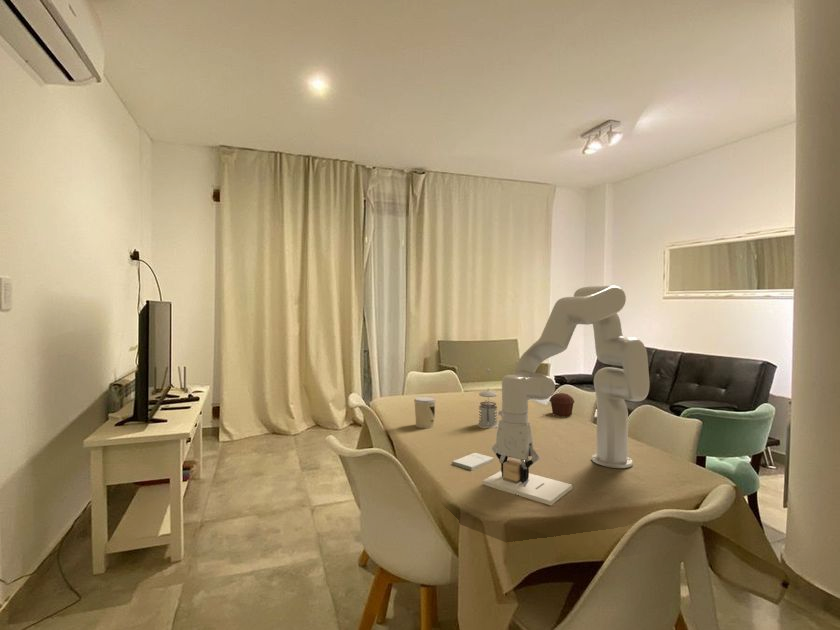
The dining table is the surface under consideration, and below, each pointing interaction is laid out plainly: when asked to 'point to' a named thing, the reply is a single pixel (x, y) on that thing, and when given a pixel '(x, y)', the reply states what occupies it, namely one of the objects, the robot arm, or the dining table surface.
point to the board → (531, 487)
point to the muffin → (562, 404)
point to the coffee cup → (424, 411)
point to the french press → (488, 410)
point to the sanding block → (512, 470)
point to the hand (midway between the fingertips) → (514, 477)
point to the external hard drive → (472, 461)
